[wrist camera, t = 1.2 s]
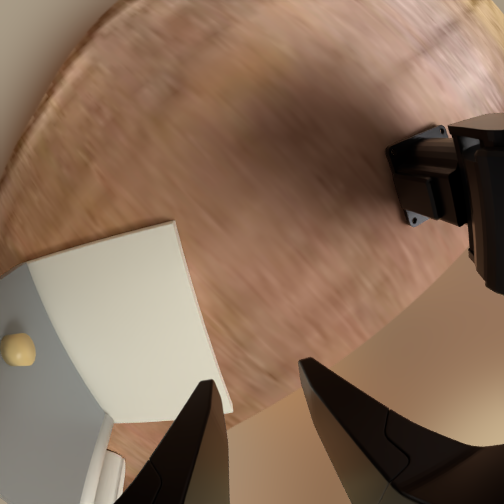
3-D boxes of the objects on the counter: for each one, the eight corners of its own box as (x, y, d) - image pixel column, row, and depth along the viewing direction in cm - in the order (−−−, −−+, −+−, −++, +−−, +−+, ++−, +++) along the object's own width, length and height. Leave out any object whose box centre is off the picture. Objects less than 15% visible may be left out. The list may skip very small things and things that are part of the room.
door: (40, 257, 16) (-96, 374, 3) (128, 425, 22) (104, 553, 9) (13, 266, 16) (-109, 369, 3) (100, 425, 22) (70, 543, 8)
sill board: (174, 220, 18) (172, 223, 17) (232, 404, 24) (233, 412, 23) (19, 263, 18) (13, 268, 17) (100, 416, 23) (98, 423, 22)
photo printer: (123, 484, 28) (114, 551, 16) (95, 475, 27) (81, 541, 16) (129, 455, 26) (115, 540, 14) (95, 443, 25) (73, 526, 13)
